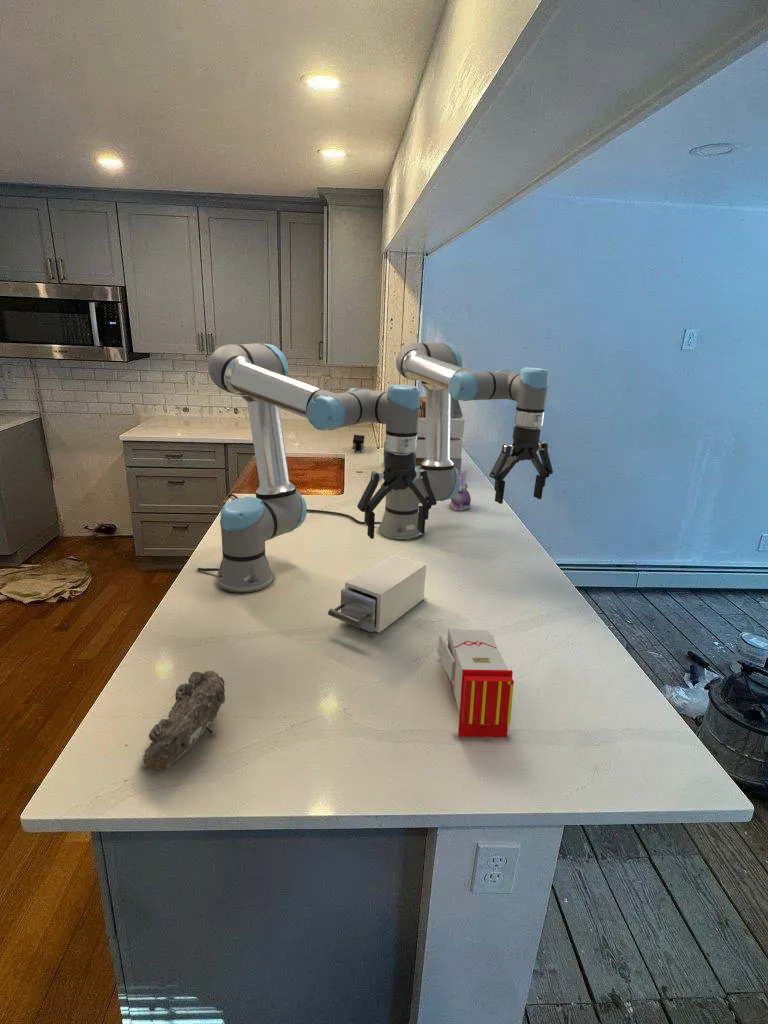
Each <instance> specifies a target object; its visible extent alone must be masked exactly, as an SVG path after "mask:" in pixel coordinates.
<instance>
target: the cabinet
mask: <svg viewBox="0 0 768 1024" xmlns="http://www.w3.org/2000/svg"><path fill="white" fill-rule="evenodd" d="M426 573H427V563H423V562H420V561H417V560H413V559H410V558H407V557H404V556H401V555H397V554H394V553H392V554H390V555H388V556H387V557H384V558H383V559H382V560H380V561H378V562H376V563H375V564H373V565H372V566H370V567H368V568H366V569H364V570H363V571H361V572H359V573H358V574H356V575H355V576H353V577H351V578H349V579H348V580H346V581H345V582H344V589H347V590H350V591H351V588H352V589H355V590H358V591H361V592H363V593H366V594H369V595H372V596H374V597H377V612H376V624H375V628H374V631H373V632H376V633H381V632H382V631H384V630H385V629H386V628H388V627H389V626H390V625H392V624H393V623H395V621H396V620H398V619H399V618H401V617H402V616H404V615H405V614H406V613H407V612H408V611H410V610H411V609H412V608H414V607H415V606H416V605H418V604H419V603H420V602H422V601H423V600H424V599H425V588H426V587H425V586H426Z"/></svg>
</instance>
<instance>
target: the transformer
mask: <svg viewBox="0 0 768 1024" xmlns="http://www.w3.org/2000/svg"><path fill="white" fill-rule="evenodd" d="M425 427H426V396H420V408H419V417H418V429H417V450H416V451H415V454H416V466H417V467H421V463H422V462H423V461H424V460H425ZM464 429H465V419H464V418H463V411H462V408H461V405H460V402H459V400H455V399H453V398H452V396H451V412H450V460H451V461H452V462H453V463H454V467H455V468H456V469H457V470H458V472H459V475H460V476H461V475H462V473H461V472H462V461H463V460H462V453H463V442H464V441H463V440H462V439H463V438H464V431H465V430H464ZM385 440H386V437H385V438H384V442H383V465H384V461H385V452H386V451H387V450H386V449H385Z"/></svg>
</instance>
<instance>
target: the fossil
mask: <svg viewBox="0 0 768 1024" xmlns="http://www.w3.org/2000/svg"><path fill="white" fill-rule="evenodd" d="M225 685H226V682H225V679H224V678H223V676H219V674H218V673H217V672H216V671H215V670H208V671H204V672H199V671H192V672H191V673H190V676H189V677H188V681H187V682H185V683H182V684H180V685H178V686H177V688H176V690H175V695H174V697H175V698H174V699H175V702H174V704H173V706H171V710H170V711H169V712H168V715H167V716H168V718H167V719H165V718H163V719H160V720H159V721H158V723H156V724H155V725H153V727H152V728H151V730H150V731H149V733H148V738H149V741H151V742H150V744H149V745H148V747H147V748H145V750H144V755H143V759H142V761H143V765H144V767H147V768H149V769H151V770H153V771H154V770H159V769H164V768H165V769H169V768H170V767H171V766H173V764H174V763H175V762H176V761H177V760H178V759H180V758H182V756H183V755H184V754H185V753H186V752H187V751H188V750H189V749H190V748H191V747H192V746H193V745H195V743H196V742H197V741H198V738H199V737H200V736H201V735H202V734H203V733H204V732H205V730H206V731H207V732H208V733H209V734H210V735H212V734H213V733H214V731H213V730H212V729H211V728H210V727H209V726H208V725H209V724H210V723H213V722H214V720H215V719H216V717H217V716H218V713H219V711H220V709H221V707H222V705H223V704H224V703H225V702H226V694H225V693H226V688H225Z"/></svg>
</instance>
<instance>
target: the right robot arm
mask: <svg viewBox="0 0 768 1024" xmlns="http://www.w3.org/2000/svg"><path fill="white" fill-rule="evenodd" d="M395 366H396V369H397V371H398V373H399V374H400V376H402V377H404V378H405V379H408V380H410V381H420V382H421V383H420V384H421V386H422V387H423V388H424V389H425V397H426V427H425V460H424V461H423V462H422V463H421V466H415V471H417V470H419V469H420V468H422V469H424V470H425V471H427V480H428V482H429V485H430V487H431V489H432V492H433V494H434V497H435V499H436V502H444V501H447V500H451V498H453V497H454V496H455V495H456V494H457V493H458V491H459V488H460V476H461V474H460V475H459V472H458V470H457V469H456V468H455V467H454V463H453V462H452V461H451V460H450V412H451V396H452V398H453V399H455V400H458V401H463V402H469V401H486V400H487V401H488V400H509V401H514V402H516V406H515V412H514V413H515V415H514V421H513V424H514V426H513V430H512V440H513V441H512V444H510V445H509V444H506V443H503V445H502V447H501V451H500V453H499V455H498V457H497V459H496V461H495V463H494V465H493V467H492V469H491V471H490V473H489V474H488V475H489V478H492V479H493V480H494V486H493V490H494V491H495V496H494V502H496V503H498V504H500V505H503V504H504V495H505V494H504V493H505V487H506V481H505V480H504V479H505V478H506V477H507V476H508V474H509V473H510V472H511V471H512V469H513V468H514V467H515V465H516V464H517V463H519V462H520V461H521V462H522V461H531V463H532V464H533V467H534V468H535V470H536V471H537V473H538V474H536V475H535V482H534V489H533V498H536V499H538V500H542V496H543V492H544V491H543V490H544V488H545V487H546V480H547V478H549V477H550V475H552V474H553V473H554V469H553V467H552V463H551V462H552V461H551V458H550V453H549V451H548V449H549V448H548V447H549V444H548V443H547V442H544V441H541V438H542V432H543V429H542V428H541V427H542V426H543V425H544V424H543V423H544V416H545V409H546V402H547V395H548V388H549V387H550V386H549V380H550V372H549V370H548V369H546V368H542V367H540V368H539V367H532V366H531V367H530V366H529V367H527V366H526V367H522V368H521V369H520V372H515V371H511V370H507V369H505V370H503V369H499V370H496V371H474V370H471V369H467V368H464V359H463V354H462V353H461V351H460V350H459V348H458V347H457V346H456V345H455V344H452V343H447V342H412V343H409V344H407V345H405V346H403V347H402V348H401V349H400V350H399V352H398V353H397V355H396V359H395ZM537 452H538V453H537ZM538 454H539V455H538ZM412 482H413V484H414V485H415V486H416V487H417V489H418V490H419V492H420V493H421V494H422V495H423V497H424V498H425V499H426V500H428V499H427V496H426V494H425V492H424V489H423V487H422V484H421V482H420V480H419V478H418V477H417V476H416V477H415V479H414V480H413V481H412ZM232 497H233V498H234V499H237V498H239V497H238V496H237V495H236V494H233V493H229V494H228V495H227V498H232ZM420 504H421V503H420V501H419V500H418V499H417V498H416V496H415V495H414V494H413V493H412V491H411V490H410V489H409V488H406V489H405V490H402V489H399V490H393V489H392V490H391V491H390V492H389V493H387V494H386V496H385V504H384V505H385V507H384V508H385V509H384V513H383V515H382V519H381V521H375V524H374V525H379V527H378V533H379V534H380V535H381V536H382V537H385V538H387V539H389V540H395V541H410V540H415V539H418V538H420V537H421V536H422V535H423V533H420V532H419V531H418V530H417V526H418V512H419V506H420ZM308 512H309V513H321V514H322V513H323V514H331V515H337V516H342V517H346V518H349V519H350V520H352V521H354V522H355V523H357V524H361V525H366V524H365V522H364V521H361V520H358V519H356V518H355V517H354V516H352V515H349V514H346V513H342V512H336V511H330V510H322V509H311V508H307V513H308Z"/></svg>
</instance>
